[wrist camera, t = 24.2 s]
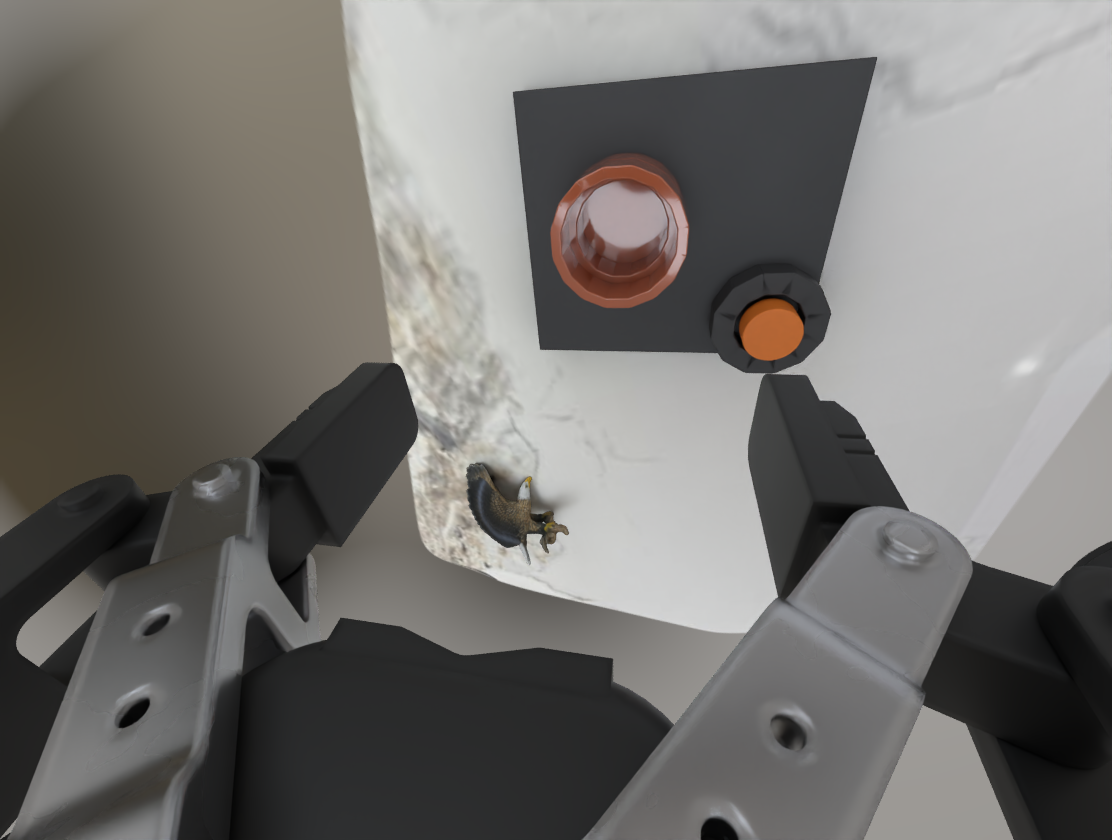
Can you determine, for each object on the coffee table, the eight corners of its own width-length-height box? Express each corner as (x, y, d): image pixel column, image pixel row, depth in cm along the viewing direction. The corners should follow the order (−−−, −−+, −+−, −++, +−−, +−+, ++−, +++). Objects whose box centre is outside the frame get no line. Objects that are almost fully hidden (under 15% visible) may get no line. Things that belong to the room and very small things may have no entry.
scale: (873, 57, 21) (905, 53, 18) (799, 347, 29) (813, 375, 26) (522, 91, 24) (503, 92, 21) (546, 343, 32) (535, 367, 29)
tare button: (803, 297, 24) (810, 308, 23) (790, 348, 26) (797, 361, 25) (743, 297, 25) (747, 308, 24) (735, 347, 27) (738, 360, 25)
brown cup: (690, 147, 22) (695, 161, 18) (679, 274, 26) (682, 308, 22) (565, 156, 24) (545, 170, 20) (571, 275, 27) (556, 308, 23)
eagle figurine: (581, 485, 38) (477, 451, 36) (560, 573, 36) (449, 543, 33) (551, 492, 45) (463, 464, 43) (532, 566, 43) (438, 541, 40)
